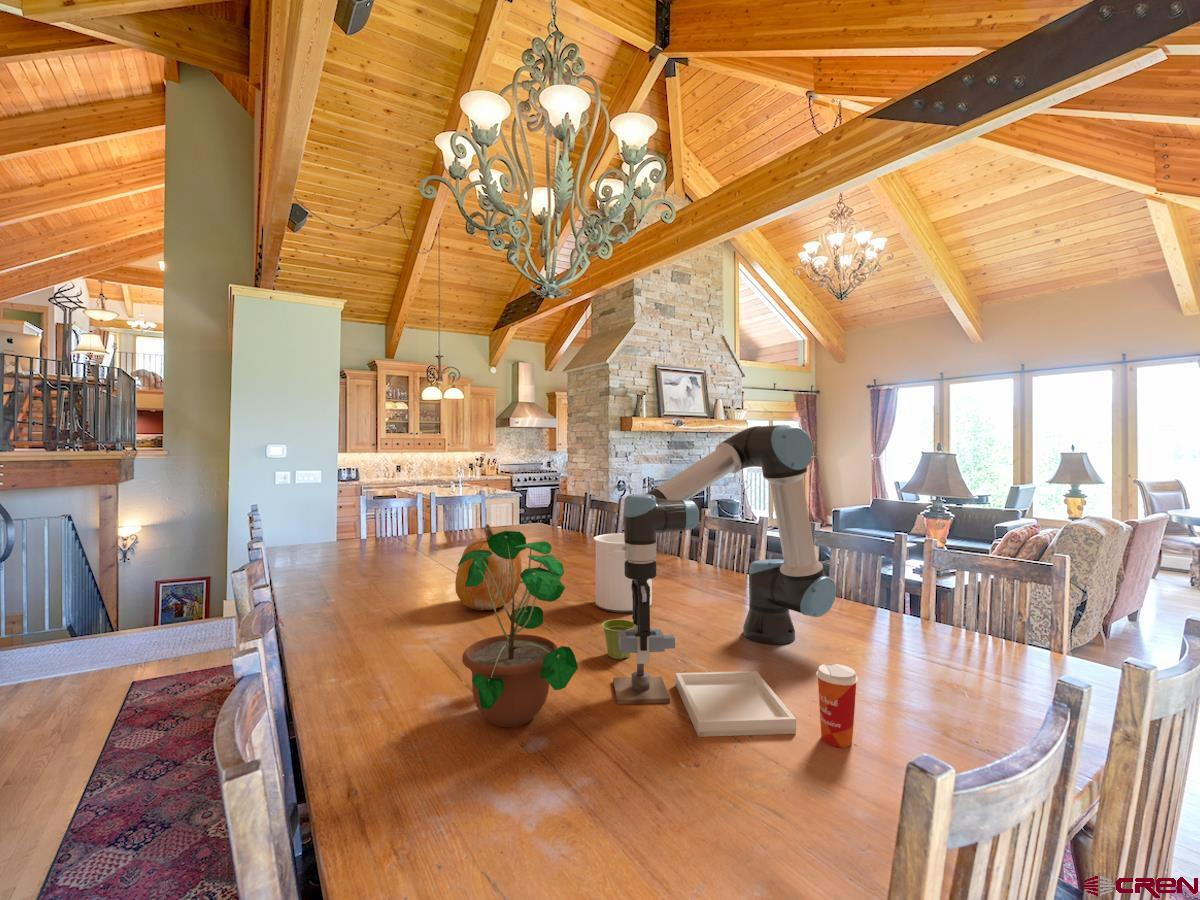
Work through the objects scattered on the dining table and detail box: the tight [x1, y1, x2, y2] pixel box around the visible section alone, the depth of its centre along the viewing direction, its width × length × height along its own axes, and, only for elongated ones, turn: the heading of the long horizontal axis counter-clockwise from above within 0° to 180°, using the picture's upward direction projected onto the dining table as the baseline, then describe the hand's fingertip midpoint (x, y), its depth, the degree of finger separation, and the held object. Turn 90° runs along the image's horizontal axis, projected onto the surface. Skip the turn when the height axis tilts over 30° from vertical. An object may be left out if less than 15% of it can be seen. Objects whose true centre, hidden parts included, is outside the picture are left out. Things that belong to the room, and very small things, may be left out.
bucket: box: [593, 532, 653, 614], centre depth 205 cm, size 26×22×24 cm
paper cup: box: [815, 663, 859, 749], centre depth 112 cm, size 8×8×14 cm
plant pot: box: [601, 618, 635, 660], centre depth 157 cm, size 9×9×9 cm
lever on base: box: [612, 663, 671, 705], centre depth 134 cm, size 12×12×12 cm
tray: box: [675, 670, 797, 738], centre depth 126 cm, size 20×24×3 cm
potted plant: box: [457, 530, 579, 728], centre depth 123 cm, size 31×29×40 cm
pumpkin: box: [455, 524, 523, 611], centre depth 204 cm, size 26×23×30 cm
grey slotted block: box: [618, 628, 676, 654], centre depth 134 cm, size 13×6×3 cm, turn 93°
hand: (641, 657), depth 134 cm, fingers closed on grey slotted block, 6 cm apart
